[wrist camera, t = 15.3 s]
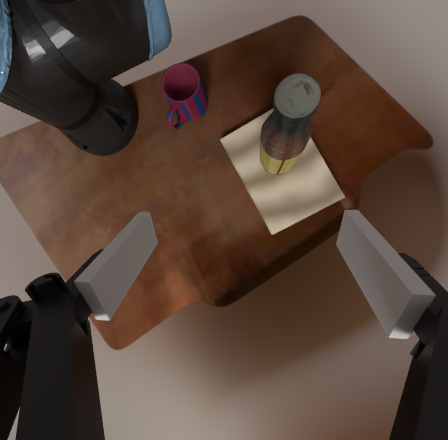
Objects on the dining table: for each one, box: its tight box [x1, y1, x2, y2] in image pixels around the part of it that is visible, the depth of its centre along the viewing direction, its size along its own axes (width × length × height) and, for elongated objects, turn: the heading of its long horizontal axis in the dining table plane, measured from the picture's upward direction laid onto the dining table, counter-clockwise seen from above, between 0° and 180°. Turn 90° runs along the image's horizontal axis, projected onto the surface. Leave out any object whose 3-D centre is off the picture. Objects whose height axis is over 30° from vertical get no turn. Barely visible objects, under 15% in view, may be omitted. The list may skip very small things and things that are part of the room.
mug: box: [161, 63, 208, 130], centre depth 39 cm, size 7×10×7 cm
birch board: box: [220, 109, 345, 235], centre depth 39 cm, size 20×14×2 cm
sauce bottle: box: [260, 73, 321, 175], centre depth 28 cm, size 7×6×20 cm
